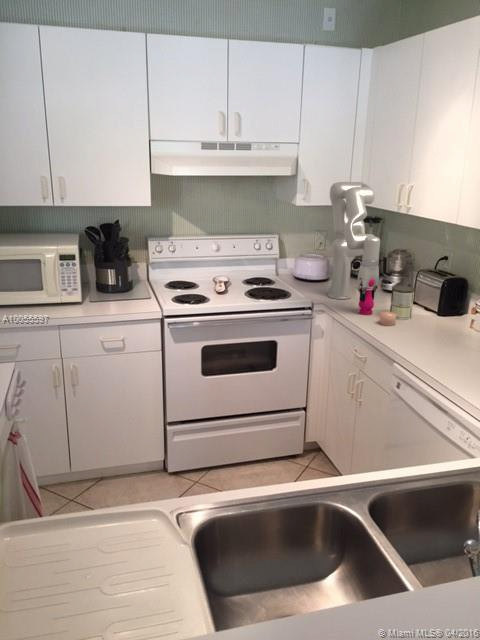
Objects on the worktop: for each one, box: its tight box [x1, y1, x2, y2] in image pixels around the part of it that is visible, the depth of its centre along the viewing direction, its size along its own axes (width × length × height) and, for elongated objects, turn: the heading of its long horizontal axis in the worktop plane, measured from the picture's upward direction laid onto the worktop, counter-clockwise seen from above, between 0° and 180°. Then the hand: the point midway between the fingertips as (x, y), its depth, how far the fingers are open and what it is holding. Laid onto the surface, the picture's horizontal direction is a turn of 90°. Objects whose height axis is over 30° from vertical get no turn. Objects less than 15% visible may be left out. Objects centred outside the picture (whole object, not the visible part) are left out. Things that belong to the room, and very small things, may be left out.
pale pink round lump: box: [379, 310, 397, 327], centre depth 242 cm, size 7×7×5 cm
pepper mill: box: [358, 279, 375, 316], centre depth 255 cm, size 7×7×20 cm
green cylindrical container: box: [389, 284, 416, 321], centre depth 251 cm, size 10×10×14 cm
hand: (366, 300), depth 256 cm, fingers open, 5 cm apart
